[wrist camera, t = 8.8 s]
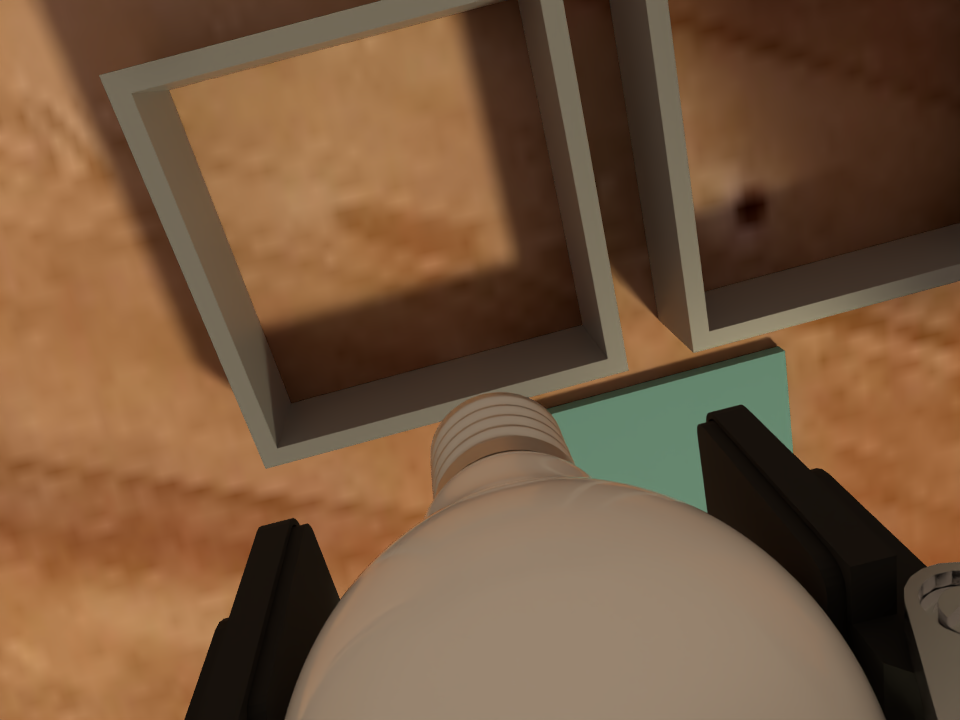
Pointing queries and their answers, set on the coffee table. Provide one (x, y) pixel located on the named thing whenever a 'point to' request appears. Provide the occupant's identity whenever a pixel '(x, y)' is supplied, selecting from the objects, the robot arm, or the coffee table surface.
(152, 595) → the coffee table surface
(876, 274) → the box
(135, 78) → the box
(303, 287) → the coffee table surface
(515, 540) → the lightbulb
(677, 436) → the mat
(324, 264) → the coffee table surface
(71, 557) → the coffee table surface
